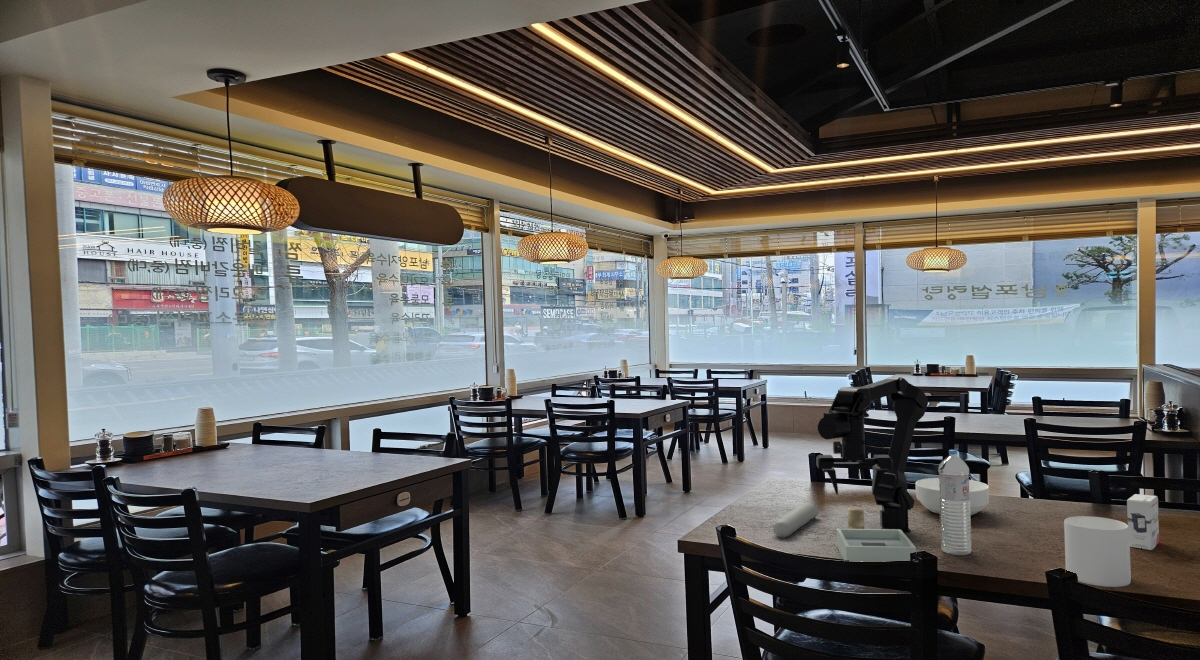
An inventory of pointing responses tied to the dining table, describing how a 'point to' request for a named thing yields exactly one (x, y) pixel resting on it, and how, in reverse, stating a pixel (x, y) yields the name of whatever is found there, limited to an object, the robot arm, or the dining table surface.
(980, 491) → the bowl
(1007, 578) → the dining table surface
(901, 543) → the caddy
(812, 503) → the tube
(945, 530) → the water bottle
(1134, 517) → the ink box
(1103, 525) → the cup
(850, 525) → the peg
